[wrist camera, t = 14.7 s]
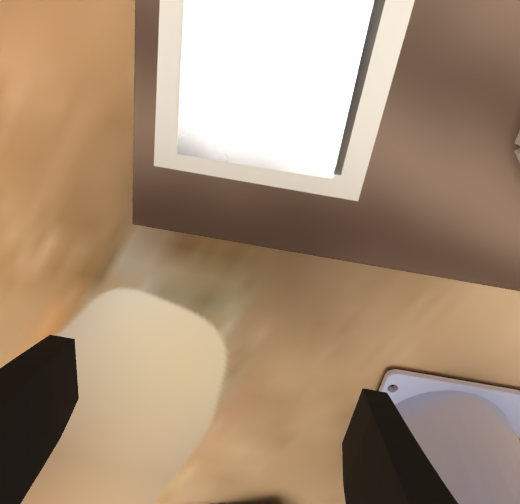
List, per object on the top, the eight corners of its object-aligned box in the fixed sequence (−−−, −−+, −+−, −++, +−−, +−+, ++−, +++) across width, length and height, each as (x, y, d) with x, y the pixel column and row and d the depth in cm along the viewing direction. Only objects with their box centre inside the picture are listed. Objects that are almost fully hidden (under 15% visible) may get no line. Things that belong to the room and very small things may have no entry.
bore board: (622, 298, 19) (675, 341, 16) (140, 214, 19) (114, 244, 16) (887, -91, 12) (1047, -124, 10) (149, -223, 12) (109, -292, 10)
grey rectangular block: (321, 132, 16) (332, 178, 11) (214, 115, 16) (176, 153, 11) (347, 8, 14) (374, -4, 9) (225, -11, 14) (185, -35, 9)
